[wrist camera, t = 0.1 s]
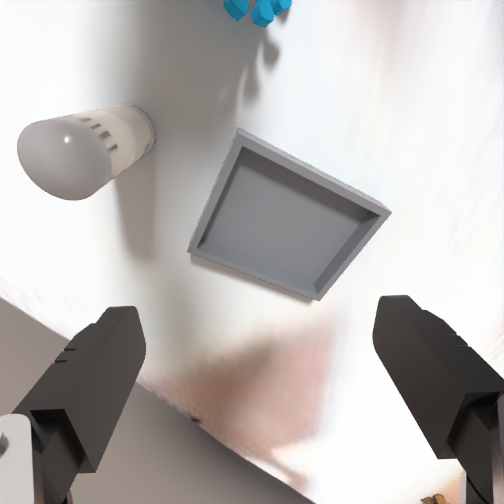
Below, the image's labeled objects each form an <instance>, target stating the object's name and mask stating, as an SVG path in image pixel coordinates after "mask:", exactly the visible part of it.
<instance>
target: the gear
mask: <svg viewBox="0 0 504 504" xmlns="http://www.w3.org/2000/svg"><path fill="white" fill-rule="evenodd" d="M290 5H291V0H256V5H255V7H254V8H253V10H252V20H253V22H254V23H255V24H256V25H258V26H262V27H265V26H267V25H268V24H269V23H271V22H272V21H273V19H274V15H279V14H280V13H282V12H283V11H284V10H285V9H287V8H288V7H289V6H290ZM224 7H225V9H226V10H227V12H228V13H229V14H230V15H231V16H232V17H233V18H234V19H235V20H236V21H238V20H239V19H240V18H242V17H243V16H244V15H245V14H246V13H247V12H248V0H225V1H224Z"/></svg>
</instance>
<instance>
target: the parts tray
mask: <svg viewBox="0 0 504 504" xmlns="http://www.w3.org/2000/svg"><path fill="white" fill-rule="evenodd" d="M391 213H392V212H391V211H390V210H389V209H388V208H386V207H385V206H384V205H383V204H382V203H381V202H380V201H378V200H376V199H374V198H372V197H370V196H368V195H366V194H364V193H362V192H360V191H359V190H357V189H355V188H353V187H351V186H349V185H347V184H345V183H343V182H341V181H339V180H338V179H336V178H334V177H332V176H330V175H328V174H326V173H324V172H322V171H320V170H318V169H316V168H315V167H313V166H311V165H309V164H307V163H305V162H303V161H301V160H299V159H297V158H295V157H294V156H292V155H290V154H288V153H286V152H284V151H282V150H280V149H278V148H276V147H274V146H272V145H271V144H269V143H267V142H265V141H263V140H261V139H259V138H257V137H255V136H253V135H251V134H250V133H248V132H246V131H244V130H242V129H240V128H238V130H237V132H236V135H235V137H234V139H233V142H232V144H231V146H230V149H229V151H228V153H227V156H226V158H225V161H224V163H223V165H222V168H221V170H220V172H219V175H218V177H217V179H216V182H215V184H214V186H213V189H212V191H211V193H210V196H209V198H208V200H207V203H206V205H205V207H204V210H203V212H202V215H201V217H200V219H199V222H198V224H197V226H196V229H195V231H194V233H193V236H192V238H191V241H190V244H189V247H188V250H187V252H188V253H191V254H194V255H196V256H199V257H202V258H205V259H207V260H210V261H213V262H215V263H218V264H221V265H223V266H226V267H229V268H231V269H234V270H237V271H239V272H242V273H245V274H247V275H250V276H253V277H255V278H258V279H261V280H263V281H266V282H269V283H271V284H274V285H277V286H279V287H282V288H285V289H288V290H290V291H293V292H296V293H298V294H301V295H304V296H306V297H309V298H312V299H314V300H317V301H320V300H321V299H322V297H323V296H324V295H325V294H326V293H327V291H328V290H329V289H330V288H331V286H332V285H333V284H334V283H335V282H336V280H337V279H338V278H339V277H340V275H341V274H342V273H343V272H344V271H345V269H346V268H347V267H348V266H349V264H350V263H351V262H352V261H353V260H354V258H355V257H356V256H357V255H358V253H359V252H360V251H361V250H362V249H363V247H364V246H365V245H366V244H367V242H368V241H369V240H370V239H371V238H372V236H373V235H374V234H375V233H376V231H377V230H378V229H379V228H380V227H381V225H382V224H383V223H384V222H385V220H386V219H387V218H388V217H389V216H390V214H391Z"/></svg>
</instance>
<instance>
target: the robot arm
mask: <svg viewBox="0 0 504 504" xmlns="http://www.w3.org/2000/svg"><path fill="white" fill-rule="evenodd" d="M373 344H374V348H375V351H376V353H377V355H378V356H379V358H380V360H381V361H382V363H383V365H384V367H385V368H386V370H387V372H388V374H389V375H390V377H391V379H392V380H393V382H394V384H395V386H396V387H397V389H398V391H399V393H400V394H401V396H402V398H403V400H404V401H405V403H406V405H407V406H408V408H409V410H410V412H411V413H412V415H413V417H414V419H415V420H416V422H417V424H418V426H419V427H420V429H421V431H422V432H423V434H424V436H425V438H426V439H427V441H428V443H429V445H430V446H431V448H432V450H433V452H434V453H435V455H436V457H437V458H438V459H456V458H457V459H458V461H459V462H460V464H461V466H462V467H463V471H462V473H461V478H460V504H504V379H503V378H502V377H501V376H500V375H499V374H498V373H497V372H496V371H495V370H494V369H493V368H492V367H491V366H490V365H489V364H488V363H487V362H486V361H485V360H484V359H483V358H482V357H481V356H480V355H479V354H477V353H476V352H475V351H474V350H473V349H472V348H471V347H468V345H467V343H466V342H465V341H464V340H463V339H462V338H461V337H460V336H457V334H456V332H455V331H454V330H453V329H452V328H451V327H450V326H449V325H448V324H447V323H446V322H445V321H444V320H442V319H441V318H439V317H437V316H436V315H434V314H432V313H431V312H429V311H427V310H422V309H421V308H420V307H419V306H418V305H417V304H416V303H415V302H414V301H413V300H412V299H411V298H410V297H409V296H408V295H393V296H382V297H380V299H379V302H378V307H377V312H376V318H375V323H374V328H373ZM145 354H146V342H145V338H144V334H143V330H142V326H141V323H140V319H139V315H138V311H137V309H136V307H135V306H120V307H109V308H107V309H106V310H105V312H104V313H103V314H102V316H101V317H100V318H99V320H98V321H97V322H96V323H91V324H90V325H89V326H87V327H86V328H85V329H83V330H82V331H80V332H79V333H78V334H76V335H75V336H74V338H73V339H72V340H71V341H70V343H69V344H68V345H67V346H66V347H65V349H64V352H61V354H60V355H59V356H58V357H57V358H56V360H55V363H54V364H51V366H50V367H49V368H48V369H47V371H46V372H45V373H44V374H43V376H42V377H41V378H40V379H39V380H38V382H37V383H36V384H35V385H34V387H33V388H32V389H31V390H30V391H29V393H28V394H27V395H26V396H25V398H24V399H23V400H22V401H21V402H20V404H19V405H18V406H17V407H16V408H15V410H14V411H13V412H12V413H11V414H9V415H4V416H1V417H0V504H73V499H72V494H71V491H70V487H71V485H72V483H73V481H74V479H75V477H76V475H77V473H95V472H96V470H97V468H98V465H99V463H100V461H101V459H102V456H103V454H104V452H105V450H106V447H107V445H108V442H109V440H110V438H111V436H112V433H113V431H114V429H115V427H116V424H117V422H118V420H119V417H120V415H121V413H122V410H123V408H124V406H125V403H126V401H127V399H128V397H129V394H130V392H131V390H132V387H133V385H134V383H135V381H136V378H137V376H138V374H139V371H140V369H141V367H142V364H143V362H144V359H145Z"/></svg>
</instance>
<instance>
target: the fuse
mask: <svg viewBox="0 0 504 504" xmlns="http://www.w3.org/2000/svg"><path fill="white" fill-rule="evenodd" d="M154 142H155V129H154V126H153V124H152V122H151V120H150V118H149V117H148V116H147V114H146V113H145V112H143V111H142V110H141V109H140V108H138V107H136V106H133V105H130V104H120V105H115V106H110V107H106V108H101V109H96V110H91V111H86V112H82V113H77V114H72V115H67V116H62V117H57V118H53V119H48V120H43V121H38V122H35V123H32V124H30V125H28V126H27V127H26V128H24V129H23V131H22V132H21V134H20V136H19V138H18V143H17V152H18V157H19V160H20V163H21V165H22V167H23V169H24V171H25V172H26V174H27V175H28V176H29V177H30V179H31V180H32V181H33V182H34V183H35V184H36V185H37V186H39V187H40V188H41V189H42V190H44V191H45V192H47V193H49V194H51V195H53V196H55V197H58V198H61V199H65V200H82V199H85V198H88V197H90V196H91V195H93V194H94V193H95V192H96V191H98V190H99V189H100V188H102V187H103V186H104V185H106V184H107V183H108V182H109V181H111V180H112V179H113V178H115V177H116V176H117V175H119V174H120V173H121V172H122V171H124V170H125V169H126V168H128V167H129V166H130V165H132V164H133V163H134V162H135V161H137V160H138V159H139V158H141V157H142V156H143V155H144V154H146V153H147V152H148V151H149V150H150V149H151V148H152V146H153V145H154Z"/></svg>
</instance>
